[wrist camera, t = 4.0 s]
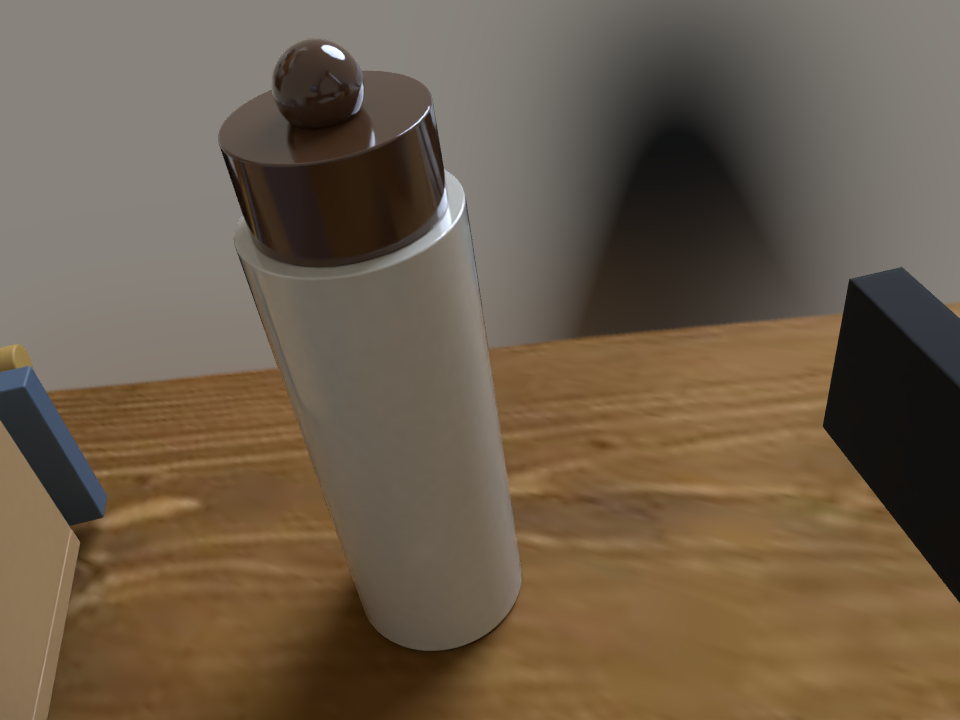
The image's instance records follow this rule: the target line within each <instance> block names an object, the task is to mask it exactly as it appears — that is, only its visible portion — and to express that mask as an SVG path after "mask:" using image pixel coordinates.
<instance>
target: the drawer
mask: <svg viewBox="0 0 960 720" xmlns="http://www.w3.org/2000/svg"><path fill="white" fill-rule="evenodd" d="M106 499H107V495H106V493H105V491H104V490H103V488H102V486H101V485H100V483H99V481H98V479H97V478H96V476H95V474H94V473H93V471H92V469H91V468H90V466H89V464H88V462H87V461H86V459H85V457H84V456H83V454H82V452H81V451H80V449H79V447H78V445H77V444H76V442H75V440H74V439H73V437H72V435H71V434H70V432H69V430H68V428H67V427H66V425H65V423H64V422H63V420H62V418H61V417H60V415H59V413H58V411H57V410H56V408H55V406H54V405H53V403H52V401H51V400H50V398H49V396H48V394H47V393H46V391H45V389H44V388H43V386H42V384H41V383H40V381H39V379H38V377H37V376H36V374H35V372H34V371H33V367H32V362H31V359H30V357H29V354H28V352H27V351H26V349H25V348H24V347H23V346H22V345H19V344H15V345H10V346H6V347H1V348H0V720H47V717H48V712H49V707H50V701H51V696H52V691H53V685H54V680H55V675H56V669H57V664H58V659H59V653H60V648H61V642H62V637H63V632H64V626H65V621H66V616H67V610H68V605H69V600H70V594H71V589H72V584H73V578H74V573H75V568H76V562H77V557H78V552H79V546H80V541H79V540H78V538H77V537H76V535H75V534H74V532H73V531H72V529H70V527H69V526H71V525H75V524H79V523H83V522H87V521H91V520H95V519H100V518H103V517H104V511H105V505H106Z"/></svg>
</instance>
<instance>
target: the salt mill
mask: <svg viewBox="0 0 960 720" xmlns="http://www.w3.org/2000/svg"><path fill="white" fill-rule="evenodd" d="M271 87H272V90H270V91H268V92H266V93H264V94H261V95H259V96H257V97H255V98H254V99H252V100H250V101H248V102H247V103H245V104H243V105H242V106H241V107H239V108H238V109H236V111H234V112H233V113H232V114H231V115H230V116H229V117H228V118H227V119H226V120H225V121H224V123H223V124H222V126H221V128H220V130H219V135H218V142H219V146H220V149H221V152H222V155H223V158H224V161H225V164H226V167H227V170H228V173H229V175H230V179H231V182H232V184H233V187H234V190H235V193H236V196H237V199H238V202H239V205H240V208H241V211H242V214H243V215H242V217H241V218H240V220H239V221H238V224H237V227H236V230H235V236H234V242H235V247H236V251H237V253H238V256H239V259H240V262H241V265H242V267H243V270H244V273H245V276H246V279H247V282H248V284H249V287H250V290H251V293H252V295H253V299H254V301H255V304H256V307H257V310H258V313H259V315H260V318H261V321H262V324H263V327H264V330H265V332H266V335H267V338H268V341H269V343H270V347H271V349H272V352H273V355H274V358H275V361H276V364H277V366H278V369H279V372H280V375H281V378H282V381H283V383H284V386H285V389H286V392H287V395H288V397H289V400H290V403H291V406H292V409H293V412H294V414H295V417H296V420H297V423H298V426H299V429H300V431H301V434H302V437H303V440H304V443H305V446H306V448H307V451H308V454H309V457H310V460H311V462H312V465H313V468H314V471H315V474H316V477H317V479H318V482H319V485H320V488H321V491H322V494H323V496H324V499H325V502H326V505H327V508H328V510H329V513H330V516H331V519H332V522H333V525H334V527H335V530H336V533H337V536H338V539H339V542H340V544H341V547H342V550H343V553H344V556H345V559H346V561H347V564H348V567H349V570H350V573H351V575H352V578H353V581H354V584H355V587H356V590H357V592H358V595H359V598H360V601H361V604H362V607H363V609H364V612H365V614H366V616H367V618H368V620H369V621H370V623H371V624H372V625H373V626H374V628H375V629H376V630H377V631H378V632H379V633H380V634H382V635H383V636H384V637H386V638H387V639H389V640H390V641H392V642H394V643H396V644H399V645H401V646H404V647H407V648H410V649H415V650H422V651H440V650H448V649H453V648H457V647H460V646H463V645H466V644H469V643H471V642H473V641H475V640H478V639H479V638H481V637H482V636H484V635H486V634H487V633H489V632H490V631H491V630H493V629H494V628H495V627H496V626H497V625H498V624H499V623H500V622H501V621H502V620H503V619H504V618H505V617H506V615H507V614H508V613H509V612H510V610H511V608H512V607H513V605H514V603H515V601H516V599H517V596H518V594H519V590H520V586H521V579H522V569H521V561H520V554H519V548H518V541H517V534H516V528H515V521H514V514H513V508H512V501H511V495H510V488H509V481H508V475H507V468H506V461H505V455H504V448H503V442H502V435H501V428H500V422H499V415H498V408H497V402H496V395H495V389H494V382H493V375H492V369H491V362H490V355H489V349H488V342H487V336H486V329H485V322H484V316H483V309H482V303H481V296H480V289H479V283H478V276H477V269H476V263H475V256H474V249H473V243H472V236H471V230H470V223H469V217H468V210H467V204H466V196H465V193H464V190H463V187H462V186H461V184H460V182H459V181H458V180H457V179H456V178H455V177H454V176H453V175H452V174H450V173H449V172H448V171H446V170H444V166H443V160H442V153H441V148H440V141H439V136H438V130H437V123H436V117H435V111H434V105H433V99H432V95H431V93H430V91H429V90H428V88H427V87H426V86H425V85H424V84H423V83H421V82H419V81H418V80H416V79H413V78H411V77H408V76H405V75H401V74H397V73H391V72H382V71H361V68H360V66H359V64H358V63H357V61H356V59H355V58H354V57H353V55H352V54H351V53H350V52H349V51H348V50H346V49H345V48H344V47H342V46H341V45H339V44H337V43H335V42H333V41H330V40H327V39H322V38H309V39H305V40H301V41H298V42H296V43H294V44H293V45H291V46H290V47H288V48H287V49H286V50H285V51H284V52H283V53H282V54H281V56H280V57H279V58H278V60H277V62H276V64H275V67H274V69H273V73H272V81H271Z"/></svg>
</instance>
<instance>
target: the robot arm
mask: <svg viewBox="0 0 960 720" xmlns="http://www.w3.org/2000/svg"><path fill="white" fill-rule="evenodd" d="M823 427H824V429H825V430H826V431H827V433H828V434H829V435H830V437H831V438H832V439H833V440H834V442H835V443H836V444H837V446H838V447H839V448H840V449H841V451H842V452H843V453H844V455H845V456H846V457H847V458H848V460H849V461H850V462H851V464H852V465H853V466H854V467H855V469H856V470H857V471H858V473H859V474H860V475H861V476H862V478H863V479H864V480H865V482H866V483H867V484H868V485H869V487H870V488H871V489H872V491H873V492H874V493H875V494H876V496H877V497H878V498H879V500H880V501H881V502H882V503H883V505H884V506H885V507H886V509H887V510H888V511H889V512H890V514H891V515H892V516H893V518H894V519H895V520H896V521H897V523H898V524H899V525H900V527H901V528H902V529H903V530H904V532H905V533H906V534H907V536H908V537H909V538H910V539H911V541H912V542H913V543H914V545H915V546H916V547H917V548H918V550H919V551H920V552H921V554H922V555H923V556H924V557H925V559H926V560H927V561H928V563H929V564H930V565H931V566H932V568H933V569H934V570H935V572H936V573H937V574H938V575H939V577H940V578H941V579H942V581H943V582H944V583H945V584H946V586H947V587H948V588H949V590H950V591H951V592H952V593H953V595H954V596H955V597H956V599H957V600H958V601H959V602H960V318H959V317H957V316H956V315H955V314H954V313H953V312H952V311H951V310H950V309H948V308H947V307H946V306H945V305H944V304H943V303H942V302H941V301H939V300H938V299H937V298H936V297H935V296H934V295H933V294H932V293H931V292H929V291H928V290H927V289H926V288H925V287H924V286H923V285H922V284H920V283H919V282H918V281H917V280H916V279H915V278H914V277H912V276H911V275H910V274H909V273H908V272H907V271H906V270H905V269H904V268H902V267H901V268H896V269H892V270H887V271H883V272H879V273H874V274H870V275H866V276H861V277H857V278H853V279H849V284H848V290H847V295H846V301H845V306H844V312H843V317H842V323H841V328H840V334H839V339H838V345H837V350H836V356H835V362H834V367H833V373H832V378H831V384H830V389H829V395H828V400H827V406H826V411H825V417H824V423H823Z"/></svg>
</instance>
